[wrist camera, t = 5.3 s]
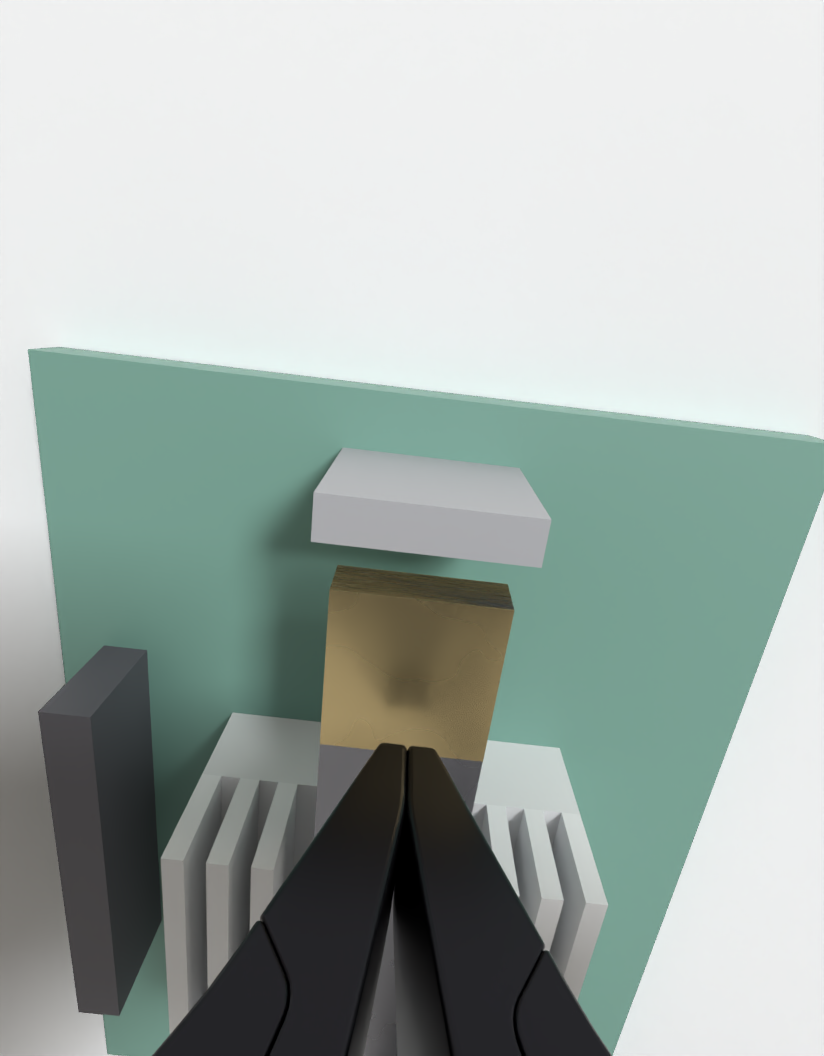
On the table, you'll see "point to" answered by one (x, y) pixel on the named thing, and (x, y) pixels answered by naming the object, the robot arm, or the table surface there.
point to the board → (301, 628)
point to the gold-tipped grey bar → (407, 696)
